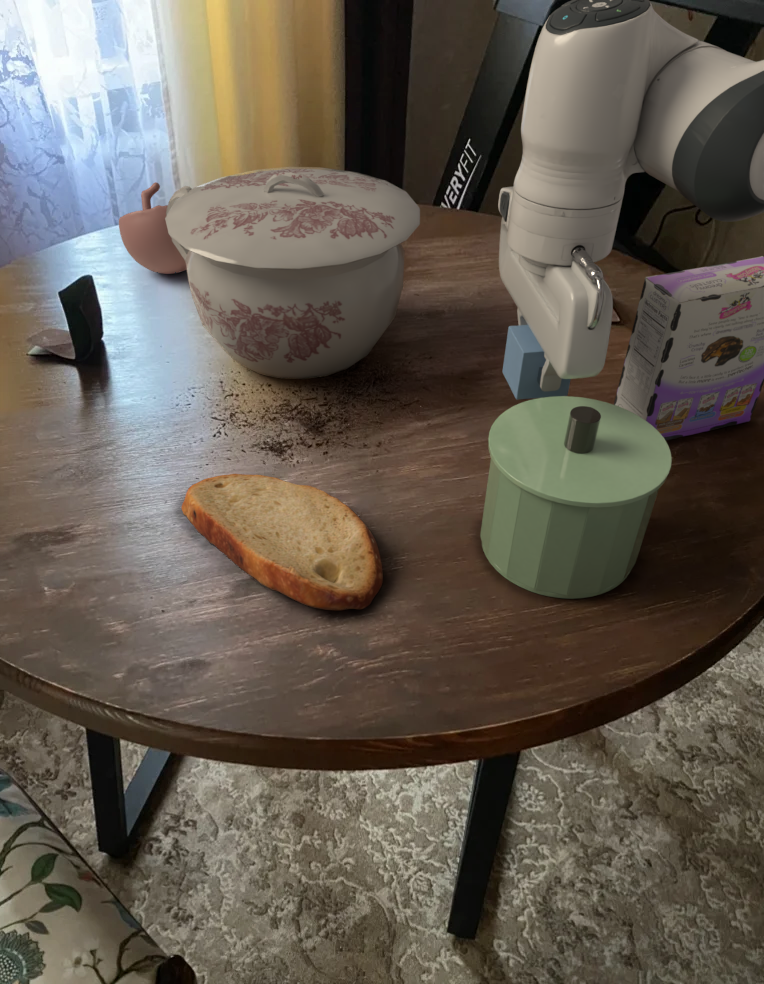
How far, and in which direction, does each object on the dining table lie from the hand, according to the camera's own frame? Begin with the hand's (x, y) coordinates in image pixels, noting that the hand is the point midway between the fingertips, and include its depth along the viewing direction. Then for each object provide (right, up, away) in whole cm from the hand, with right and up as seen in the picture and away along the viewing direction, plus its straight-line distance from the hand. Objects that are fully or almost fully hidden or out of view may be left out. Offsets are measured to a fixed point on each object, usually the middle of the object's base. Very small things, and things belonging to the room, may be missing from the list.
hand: (537, 368), depth 79 cm
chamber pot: (-24, +7, +22) cm, 33 cm away
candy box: (+17, -4, +11) cm, 21 cm away
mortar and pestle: (-43, +21, +38) cm, 61 cm away
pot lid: (+1, -9, -11) cm, 14 cm away
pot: (+1, -17, -4) cm, 17 cm away
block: (0, -1, +1) cm, 2 cm away
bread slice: (-24, -17, -4) cm, 30 cm away
